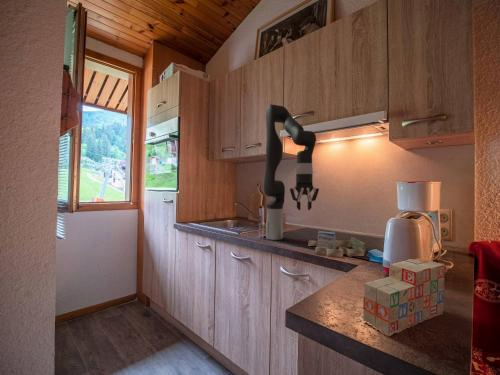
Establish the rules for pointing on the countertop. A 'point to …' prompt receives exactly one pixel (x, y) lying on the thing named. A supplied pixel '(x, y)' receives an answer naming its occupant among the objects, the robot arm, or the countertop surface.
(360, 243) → the frame
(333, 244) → the medicine box
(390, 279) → the stack of blocks
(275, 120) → the robot arm
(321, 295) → the countertop surface
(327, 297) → the countertop surface
